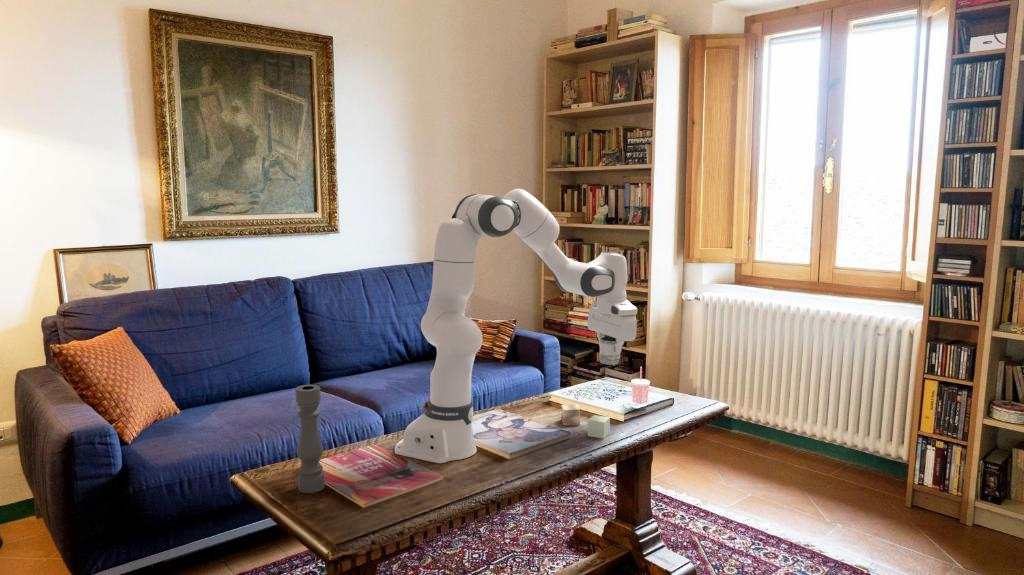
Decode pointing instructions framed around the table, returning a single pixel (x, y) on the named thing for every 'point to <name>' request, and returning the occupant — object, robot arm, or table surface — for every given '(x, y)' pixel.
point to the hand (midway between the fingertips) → (610, 349)
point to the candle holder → (309, 440)
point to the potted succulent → (608, 351)
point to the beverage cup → (640, 389)
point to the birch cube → (570, 414)
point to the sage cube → (598, 426)
